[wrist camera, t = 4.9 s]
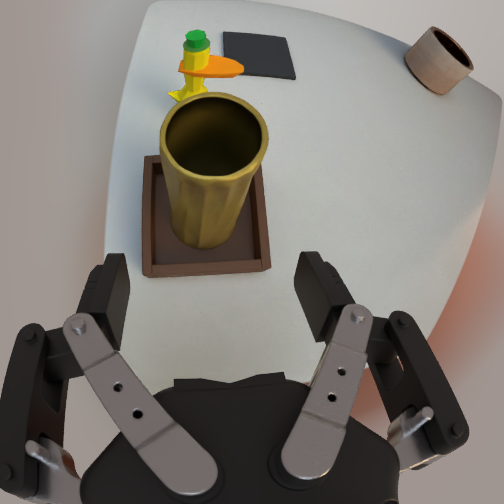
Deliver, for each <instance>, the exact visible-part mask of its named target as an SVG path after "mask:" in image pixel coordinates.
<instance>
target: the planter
mask: <svg viewBox="0 0 504 504" xmlns="http://www.w3.org/2000/svg"><path fill="white" fill-rule="evenodd" d="M405 60H406V63H407V65H408V67H409V69H410V70H411V72H412V73H413V74H414V76H415V77H416V78H417V79H418V80H419V81H420V82H421V83H422V84H423V85H424V86H426V87H427V88H428V89H430V90H431V91H433V92H435V93H438V94H442V95H443V94H446V93H447V92H449V91H450V90H451V89H452V88H453V87H454V86H456V85H457V84H458V83H459V82H460V81H461V80H462V79H464V78H465V77H466V76H467V75H468V74H469V73H471V72H472V71H473V70H474V67H473V64H472V62H471V60H470V59H469V57H468V55H467V54H466V53H465V51H464V50H463V49H462V48H461V47H460V45H459V44H458V43H456V41H455V40H453V39H452V38H451V37H450V36H449V35H447V34H446V33H445V32H444V31H442V30H440V29H439V28H436V27H433V26H432V27H430V28H429V29H428V30H427V31H426V32H425V33H424V34H423V36H422V37H421V38H420V39H419V40H418V41H417V42H416V43H415V44H414V45H413V46H412V47H411V48H410V49H409V50H408V52H407V53H406V55H405Z"/></svg>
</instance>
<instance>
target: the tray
mask: <svg viewBox="0 0 504 504" xmlns="http://www.w3.org/2000/svg"><path fill="white" fill-rule="evenodd" d="M170 212H171V207H170V200H169V194H168V189H167V186H166V181H165V176H164V172H163V168H162V163H161V157H160V155H153V156H145V157H144V173H143V194H142V271H143V275H144V276H146V277H148V278H159V277H179V276H198V275H216V274H233V273H249V272H263V271H265V270H267V269H270V268H271V259H270V248H269V237H268V227H267V216H266V206H265V196H264V186H263V177H262V167H261V164H260V166H259V168H258V170H257V171H256V173H255V174H254V175H253V177H252V179H251V182H250V186H249V189H248V192H247V194H246V197H245V201H244V203H243V205H242V208H241V210H240V213H239V216H238V218H237V220H236V226H235V228H234V230H233V232H232V234H231V236H230V237H229V238H228V239H227V240H226V241H225V242H224V243H222V244H220V245H219V246H217V247H214V248H210V249H196V248H193V247H191V246H188V245H186V244H184V243H183V242H182V241H180V240H179V238H178V237H177V236H176V235H175V233H174V232H173V230H172V227H171V223H170Z"/></svg>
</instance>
